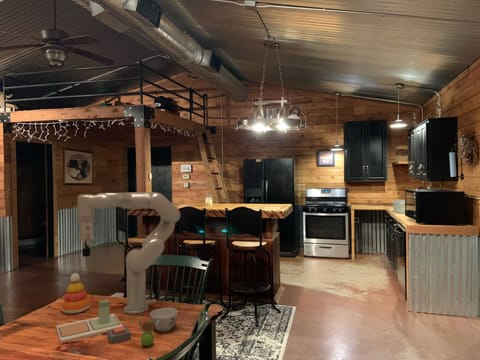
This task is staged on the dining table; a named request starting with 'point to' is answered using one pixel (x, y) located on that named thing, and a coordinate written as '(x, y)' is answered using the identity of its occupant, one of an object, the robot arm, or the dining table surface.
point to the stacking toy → (75, 297)
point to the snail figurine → (146, 332)
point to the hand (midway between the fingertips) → (86, 256)
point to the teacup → (164, 318)
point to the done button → (118, 330)
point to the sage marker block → (104, 312)
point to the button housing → (118, 336)
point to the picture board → (85, 328)
